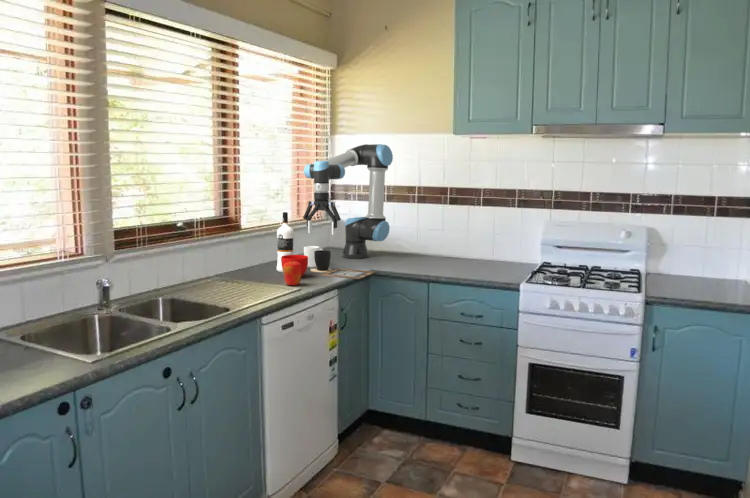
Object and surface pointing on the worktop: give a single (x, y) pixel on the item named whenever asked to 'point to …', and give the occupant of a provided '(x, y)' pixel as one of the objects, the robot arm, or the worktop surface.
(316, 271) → the coaster
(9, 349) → the worktop surface
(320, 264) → the mug
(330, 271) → the brown wooden frame
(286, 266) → the apple
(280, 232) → the vodka
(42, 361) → the worktop surface
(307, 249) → the cup
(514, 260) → the worktop surface
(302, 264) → the ceramic cup
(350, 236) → the robot arm
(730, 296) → the worktop surface
